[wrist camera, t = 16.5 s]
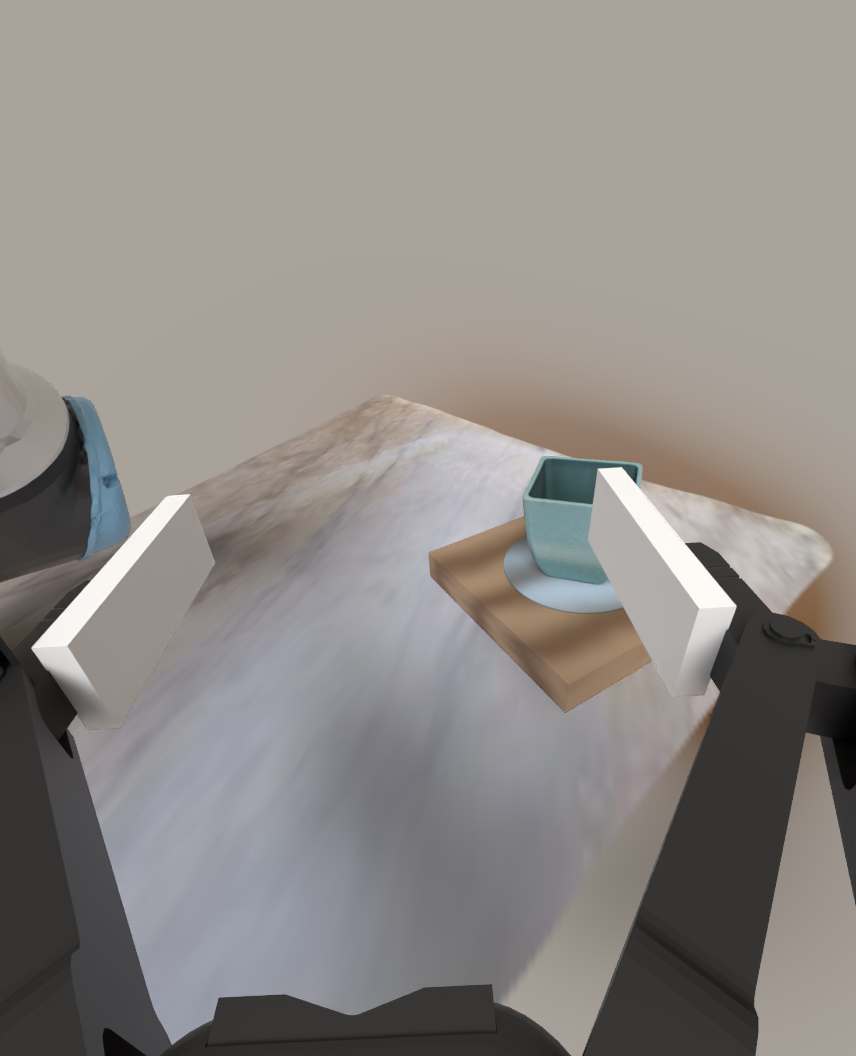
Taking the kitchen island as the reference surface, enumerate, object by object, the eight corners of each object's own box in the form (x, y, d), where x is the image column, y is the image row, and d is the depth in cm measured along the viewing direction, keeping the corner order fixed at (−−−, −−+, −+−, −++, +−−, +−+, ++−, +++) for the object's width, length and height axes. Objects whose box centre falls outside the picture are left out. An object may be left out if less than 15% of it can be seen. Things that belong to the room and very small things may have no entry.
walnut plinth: (430, 576, 51) (428, 550, 50) (574, 518, 59) (577, 495, 57) (565, 712, 36) (568, 682, 34) (735, 610, 44) (745, 582, 42)
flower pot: (517, 585, 44) (520, 496, 39) (537, 534, 51) (542, 454, 46) (622, 605, 41) (639, 511, 36) (628, 548, 48) (643, 463, 43)
